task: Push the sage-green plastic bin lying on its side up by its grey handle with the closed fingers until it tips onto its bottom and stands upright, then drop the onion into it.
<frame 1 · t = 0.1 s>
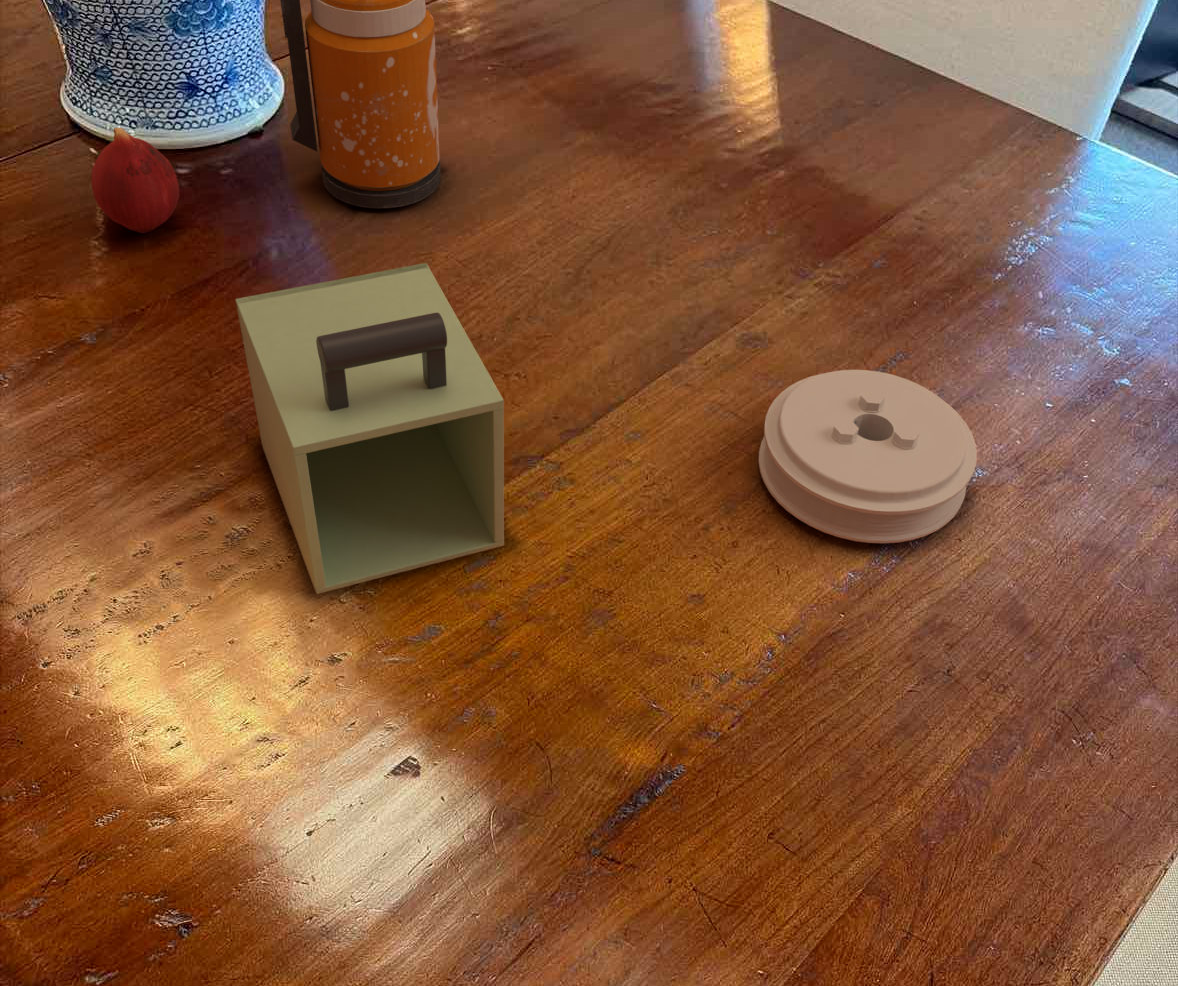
canister: (369, 188, 101), on the table
lid: (857, 483, 81), on the table
bin: (342, 358, 77), point 5 cm above the table
onion: (146, 233, 95), on the table
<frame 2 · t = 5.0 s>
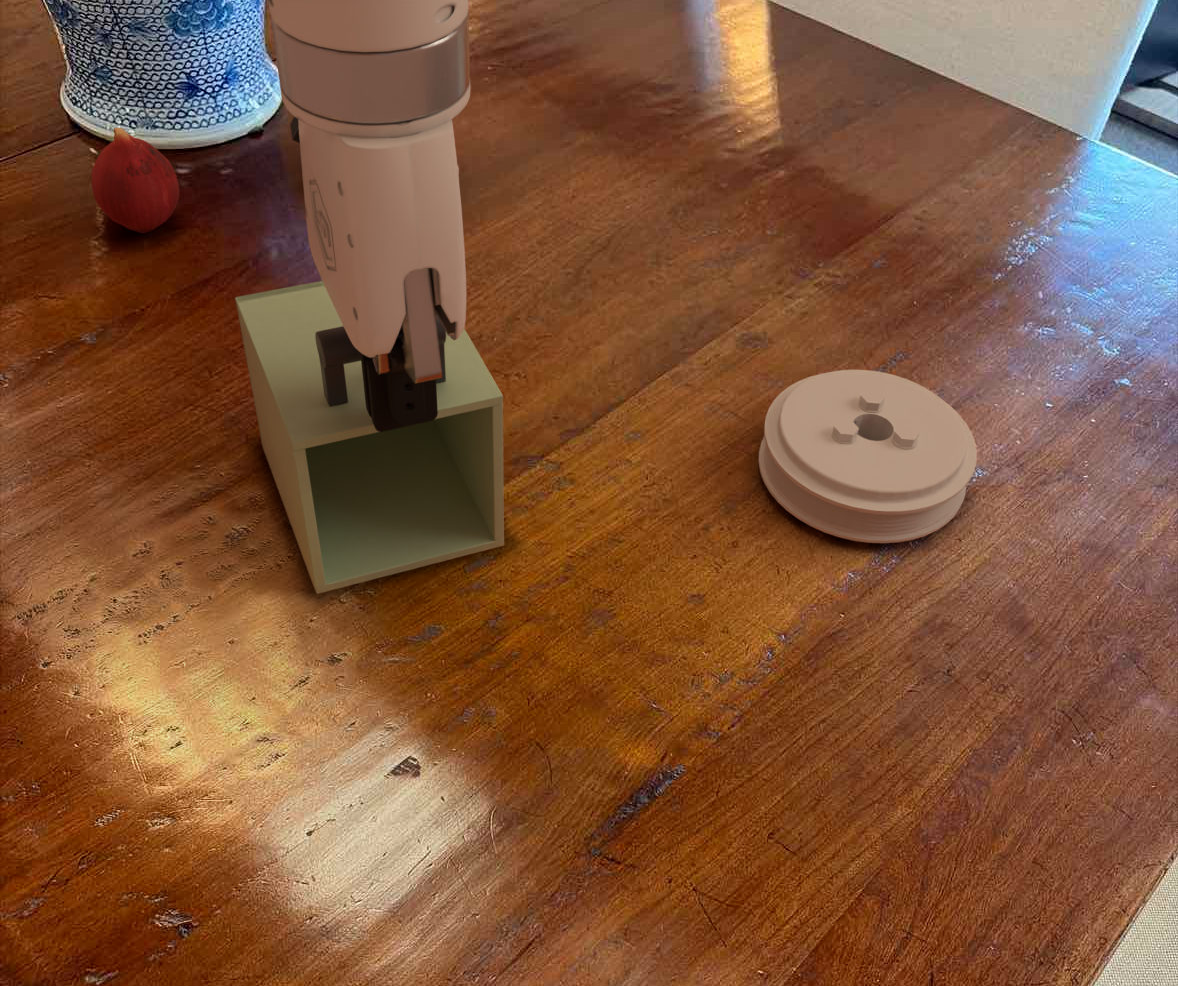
hand: (402, 415, 65), 12 cm above the table, tool pointing down, fingers closed
bin: (341, 357, 77), point 5 cm above the table, touching gripper
everything else where it was.
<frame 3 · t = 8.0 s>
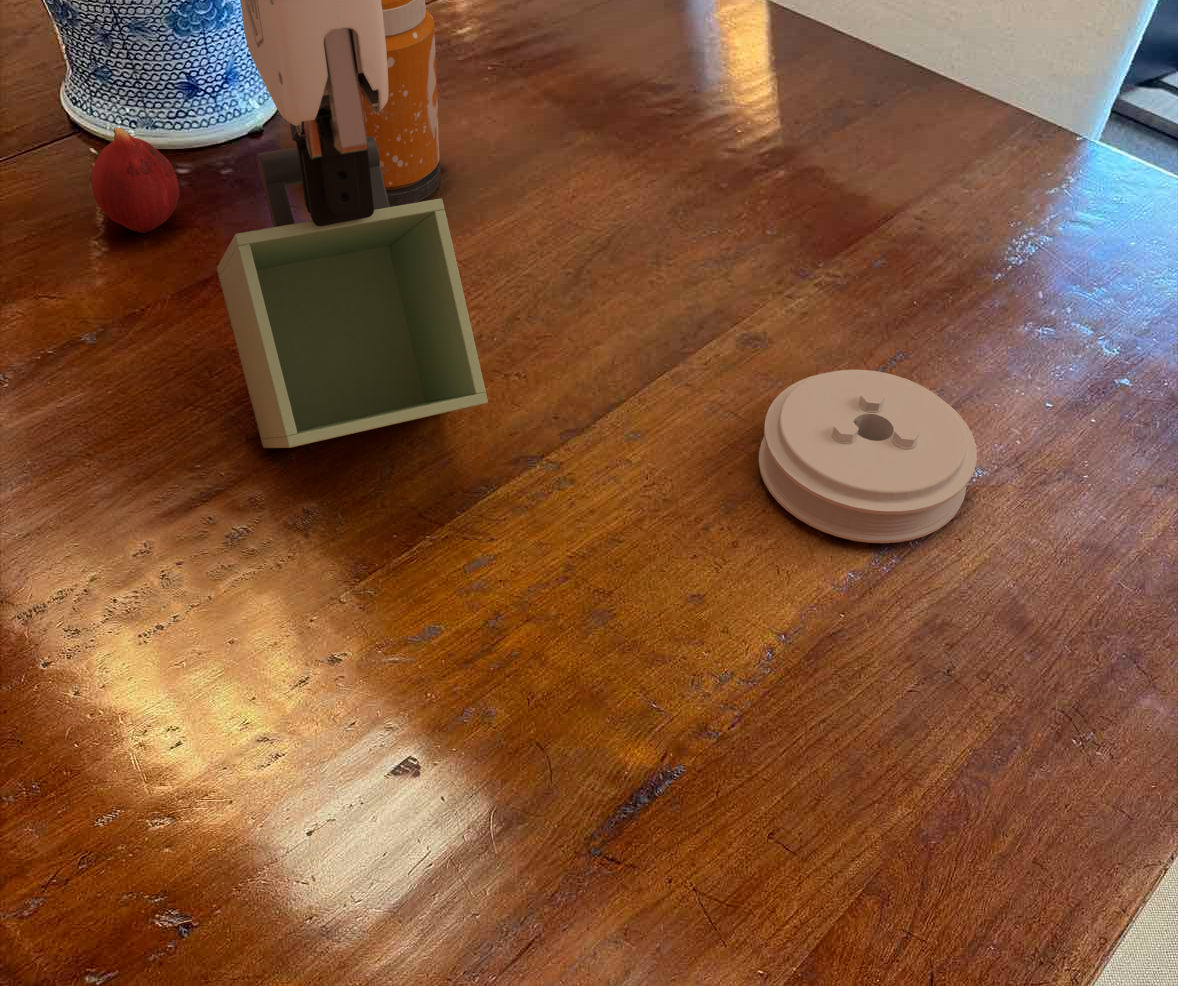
hand: (340, 213, 67), 17 cm above the table, tool pointing down, fingers closed
bin: (328, 341, 80), point 4 cm above the table, tilted 40°, touching gripper
everything else where it was.
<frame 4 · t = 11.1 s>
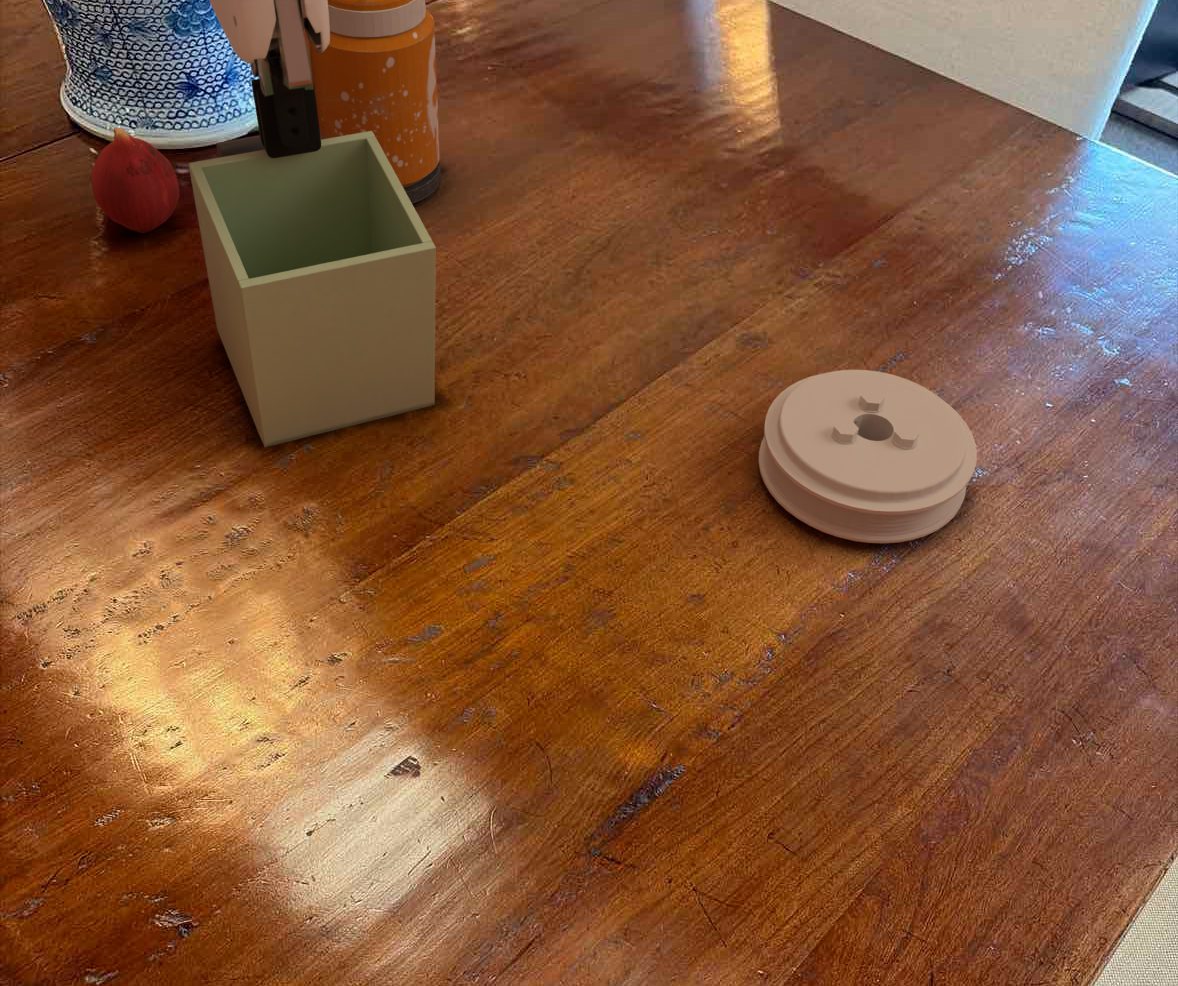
hand: (291, 147, 76), 14 cm above the table, tool pointing down, fingers closed
bin: (324, 368, 84), point 1 cm above the table, tilted 82°, touching gripper
everything else where it was.
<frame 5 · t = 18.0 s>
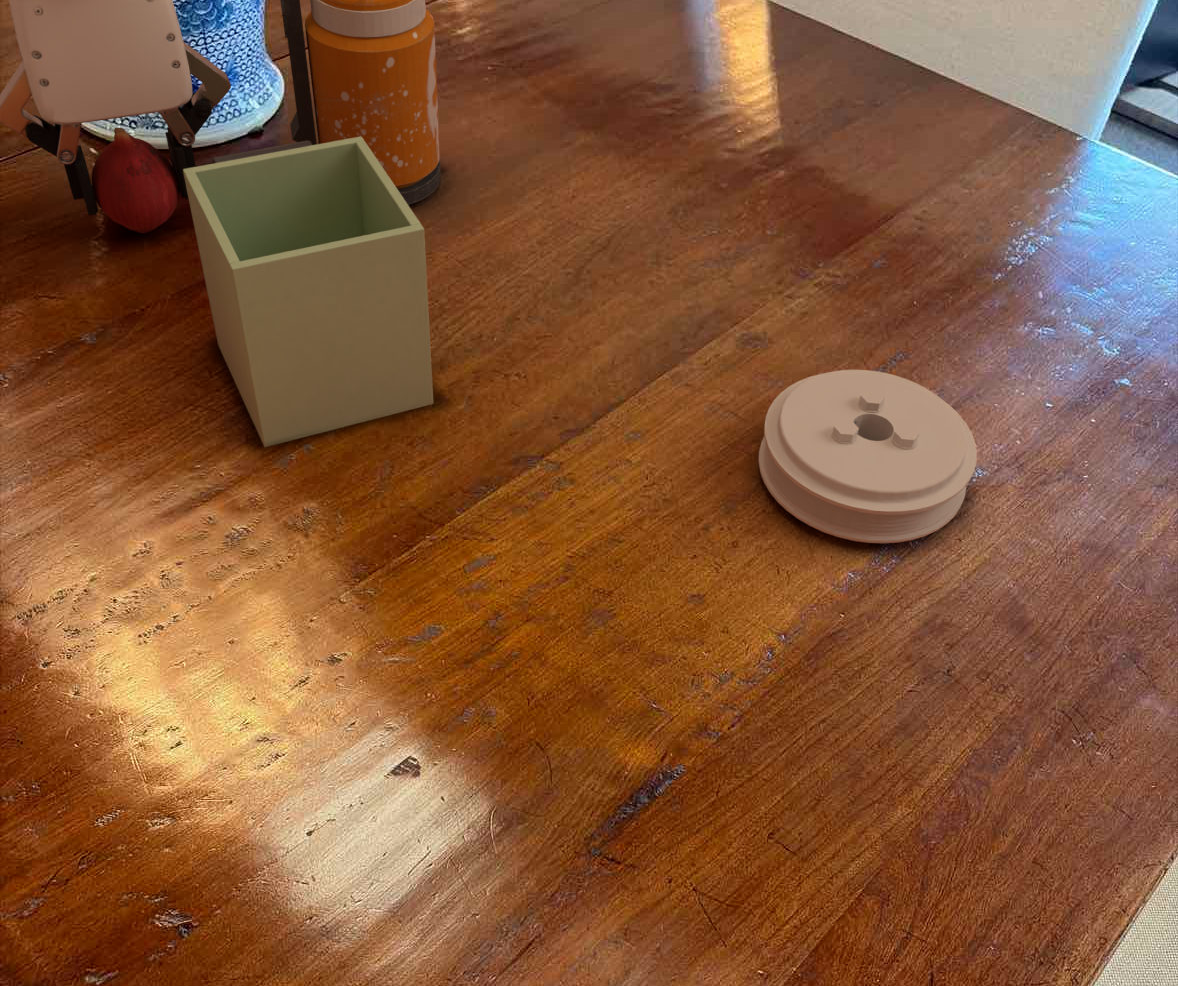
hand: (137, 195, 93), 3 cm above the table, tool pointing down, fingers closed on onion, 5 cm apart
bin: (324, 376, 85), on the table, tilted 90°
onion: (146, 233, 95), on the table, touching gripper
everything else where it was.
when the fingers open (13 cm above the table, at t = 24.0 s): onion drops 9 cm, resting on bin.
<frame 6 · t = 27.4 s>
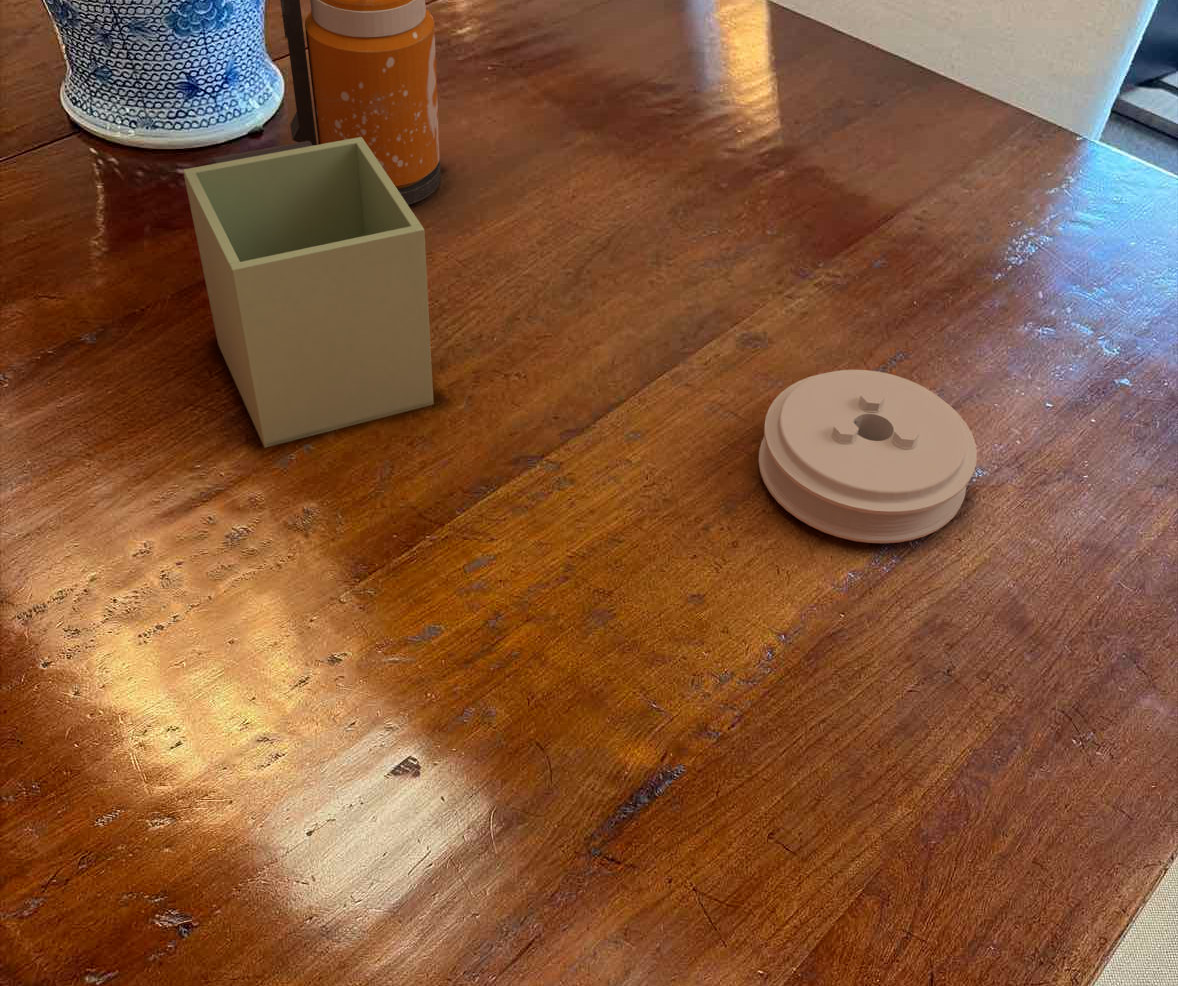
bin: (324, 376, 85), on the table, tilted 90°, touching onion
onion: (323, 365, 84), point 1 cm above the table, touching bin
everything else where it was.
at the end: bin on the table; onion inside the target area on the bin (0.0 cm from its centre), point 1.0 cm above the bin's base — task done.
